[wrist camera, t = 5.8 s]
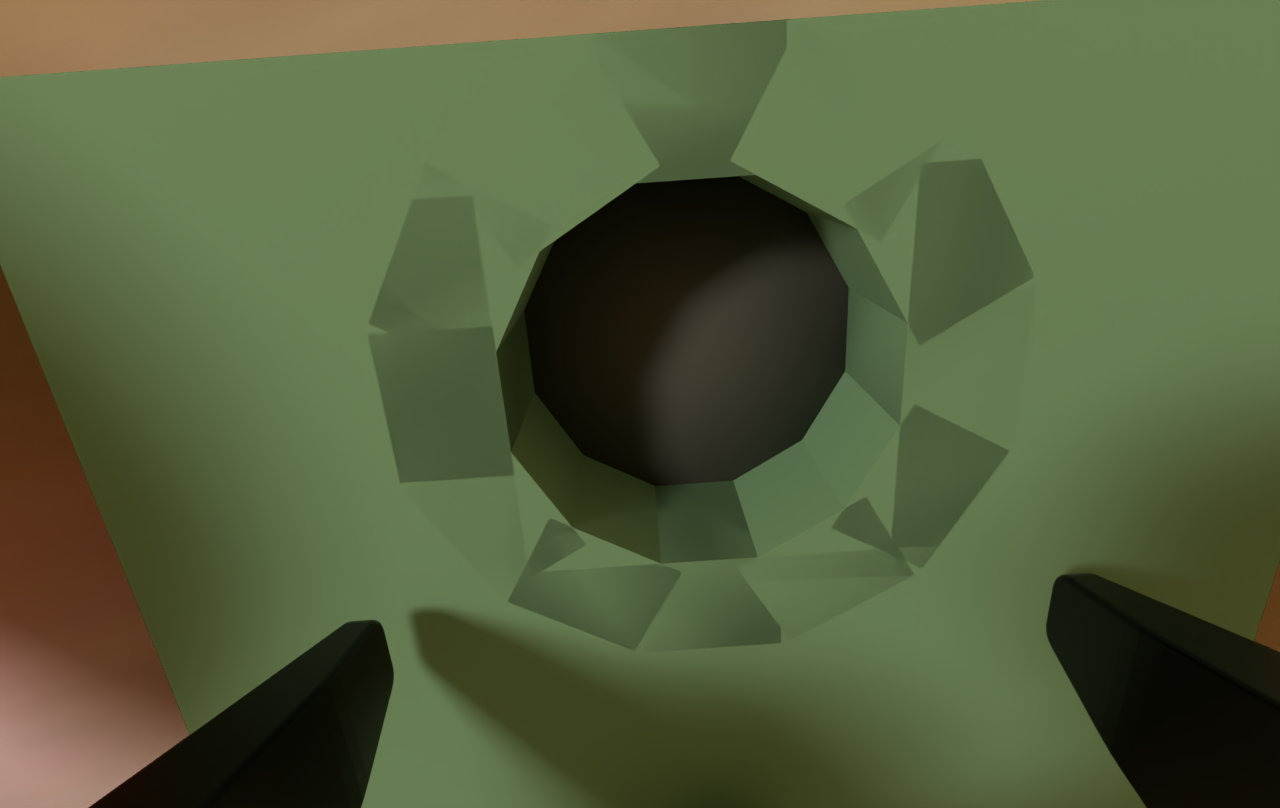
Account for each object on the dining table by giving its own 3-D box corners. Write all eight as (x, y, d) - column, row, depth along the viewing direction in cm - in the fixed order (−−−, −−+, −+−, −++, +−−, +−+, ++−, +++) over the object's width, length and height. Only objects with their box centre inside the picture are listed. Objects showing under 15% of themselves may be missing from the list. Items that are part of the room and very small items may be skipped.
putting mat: (1041, 950, 16) (1111, 1085, 14) (389, 990, 16) (349, 1130, 14) (1253, 17, 9) (1470, -31, 7) (104, 101, 9) (-74, 82, 7)
